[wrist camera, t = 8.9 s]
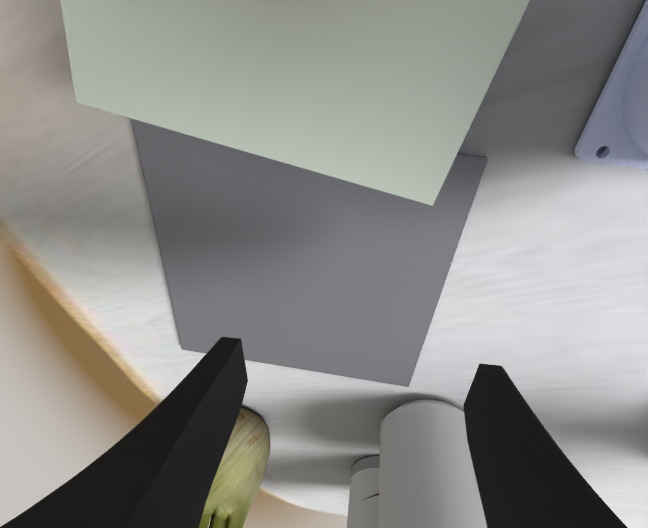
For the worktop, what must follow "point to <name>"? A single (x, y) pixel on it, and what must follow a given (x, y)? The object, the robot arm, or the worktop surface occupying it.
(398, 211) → the mat
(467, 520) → the can
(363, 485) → the travel mug
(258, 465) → the fennel bulb
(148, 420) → the robot arm
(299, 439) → the worktop surface
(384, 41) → the lid
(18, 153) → the worktop surface
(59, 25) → the worktop surface
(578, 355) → the worktop surface
